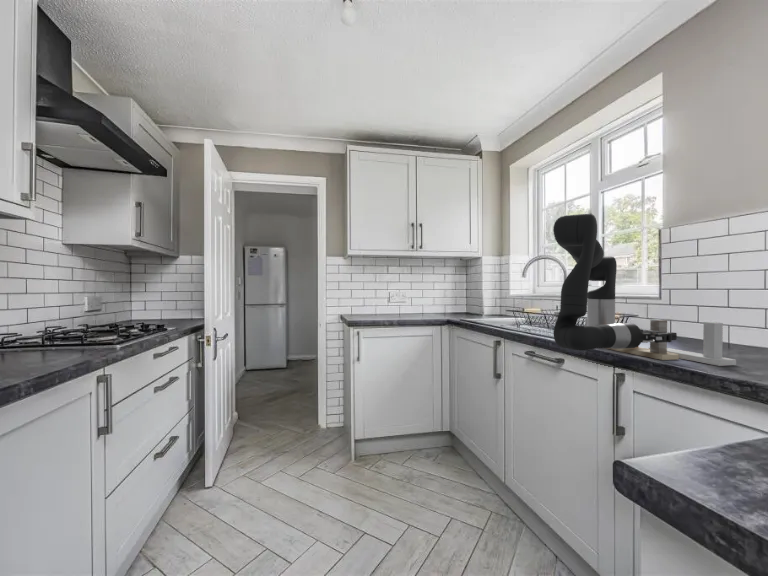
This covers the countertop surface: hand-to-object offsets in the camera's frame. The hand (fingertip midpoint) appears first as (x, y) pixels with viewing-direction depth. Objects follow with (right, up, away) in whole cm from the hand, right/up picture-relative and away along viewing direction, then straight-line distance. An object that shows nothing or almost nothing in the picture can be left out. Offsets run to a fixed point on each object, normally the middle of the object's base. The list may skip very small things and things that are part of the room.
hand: (664, 334), depth 120 cm
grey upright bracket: (+6, -7, -2) cm, 10 cm away
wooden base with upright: (-4, -7, +6) cm, 10 cm away
